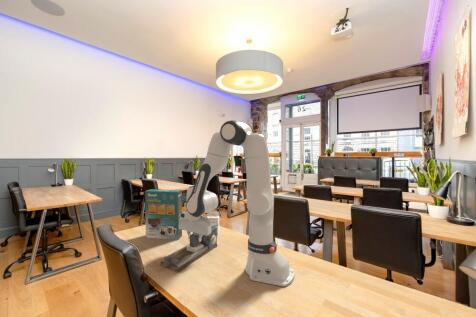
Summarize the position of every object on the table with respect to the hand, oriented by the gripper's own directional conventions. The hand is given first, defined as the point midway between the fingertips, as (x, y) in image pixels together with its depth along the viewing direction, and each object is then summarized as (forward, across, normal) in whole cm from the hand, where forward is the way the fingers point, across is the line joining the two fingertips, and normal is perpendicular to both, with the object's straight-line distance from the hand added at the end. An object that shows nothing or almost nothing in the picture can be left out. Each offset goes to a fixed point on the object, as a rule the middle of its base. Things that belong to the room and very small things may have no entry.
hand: (194, 239), depth 119 cm
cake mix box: (+7, +32, -7) cm, 34 cm away
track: (+7, 0, +3) cm, 8 cm away
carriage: (+6, 0, 0) cm, 6 cm away
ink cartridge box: (+7, +8, -27) cm, 29 cm away
